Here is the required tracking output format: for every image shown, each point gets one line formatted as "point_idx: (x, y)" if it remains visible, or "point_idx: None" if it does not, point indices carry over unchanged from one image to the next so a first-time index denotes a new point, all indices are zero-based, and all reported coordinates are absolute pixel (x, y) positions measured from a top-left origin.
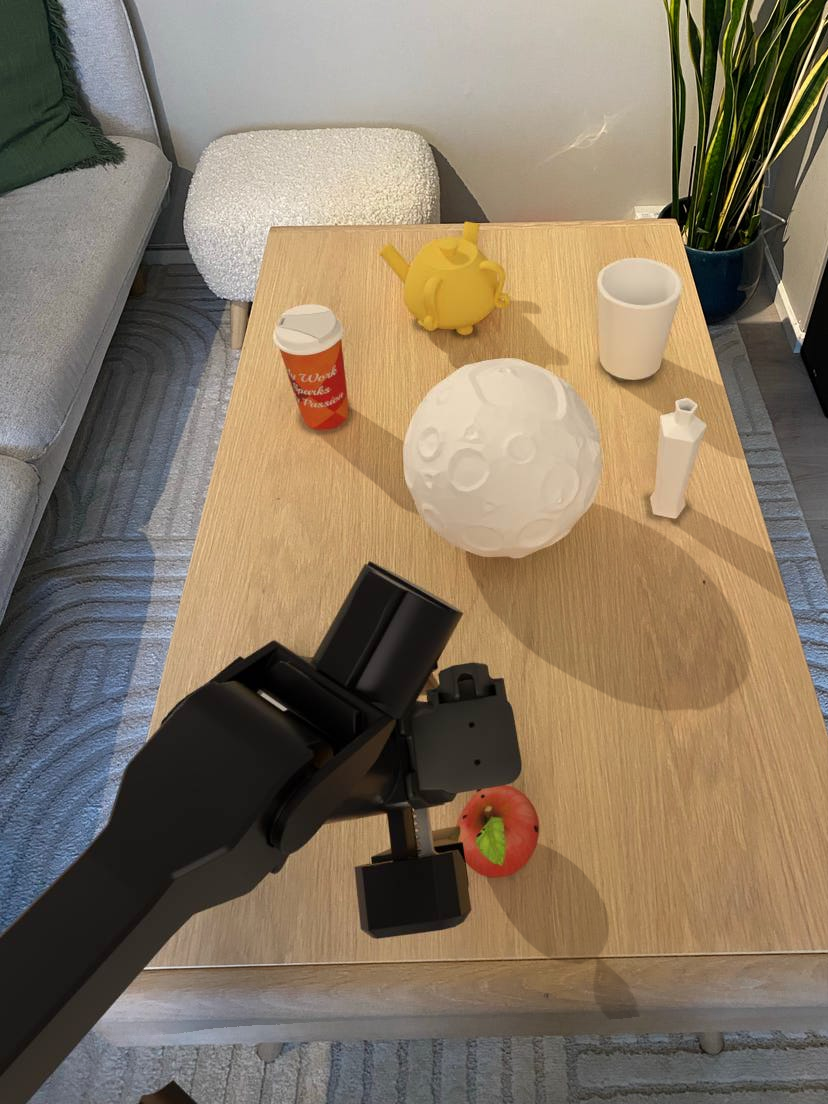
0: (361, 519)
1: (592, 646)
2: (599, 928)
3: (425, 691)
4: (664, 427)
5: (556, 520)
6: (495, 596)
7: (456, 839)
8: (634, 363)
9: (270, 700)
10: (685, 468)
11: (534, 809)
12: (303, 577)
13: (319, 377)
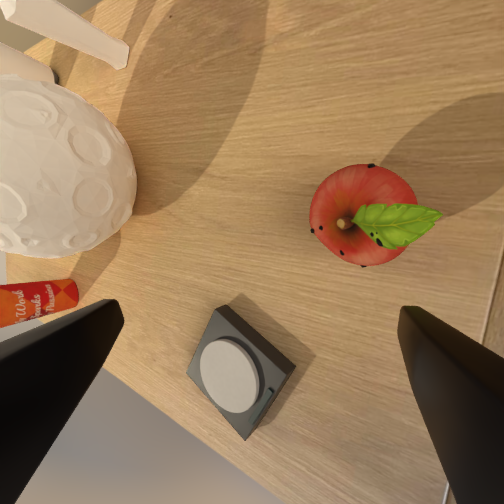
0: (120, 284)
1: (207, 116)
2: (495, 104)
3: (76, 349)
4: (10, 12)
5: (75, 124)
6: (168, 196)
7: (482, 355)
8: (35, 79)
9: (214, 391)
10: (62, 8)
11: (345, 167)
12: (148, 332)
13: (20, 303)
